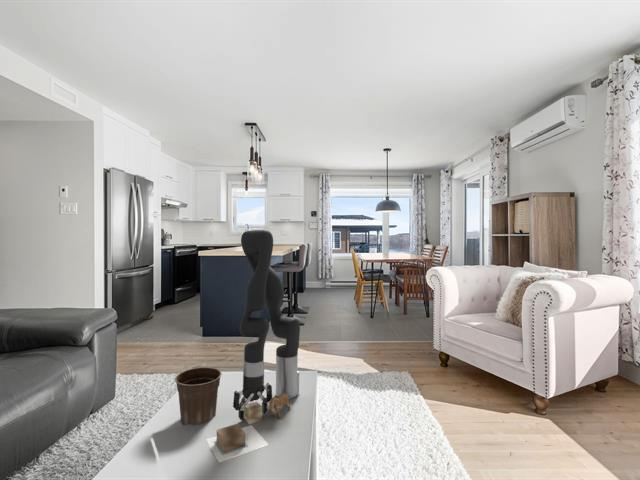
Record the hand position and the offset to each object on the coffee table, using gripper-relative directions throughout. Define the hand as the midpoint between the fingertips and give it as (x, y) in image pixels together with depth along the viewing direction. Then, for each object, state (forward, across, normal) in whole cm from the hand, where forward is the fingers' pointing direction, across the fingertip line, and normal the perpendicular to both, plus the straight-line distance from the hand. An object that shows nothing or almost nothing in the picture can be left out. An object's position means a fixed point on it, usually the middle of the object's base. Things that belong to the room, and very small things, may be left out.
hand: (252, 416), depth 126 cm
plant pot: (+2, +16, -13) cm, 21 cm away
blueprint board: (+2, +10, +11) cm, 15 cm away
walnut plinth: (+1, +12, +11) cm, 16 cm away
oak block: (+2, 0, 0) cm, 2 cm away
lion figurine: (+2, -10, +2) cm, 11 cm away
